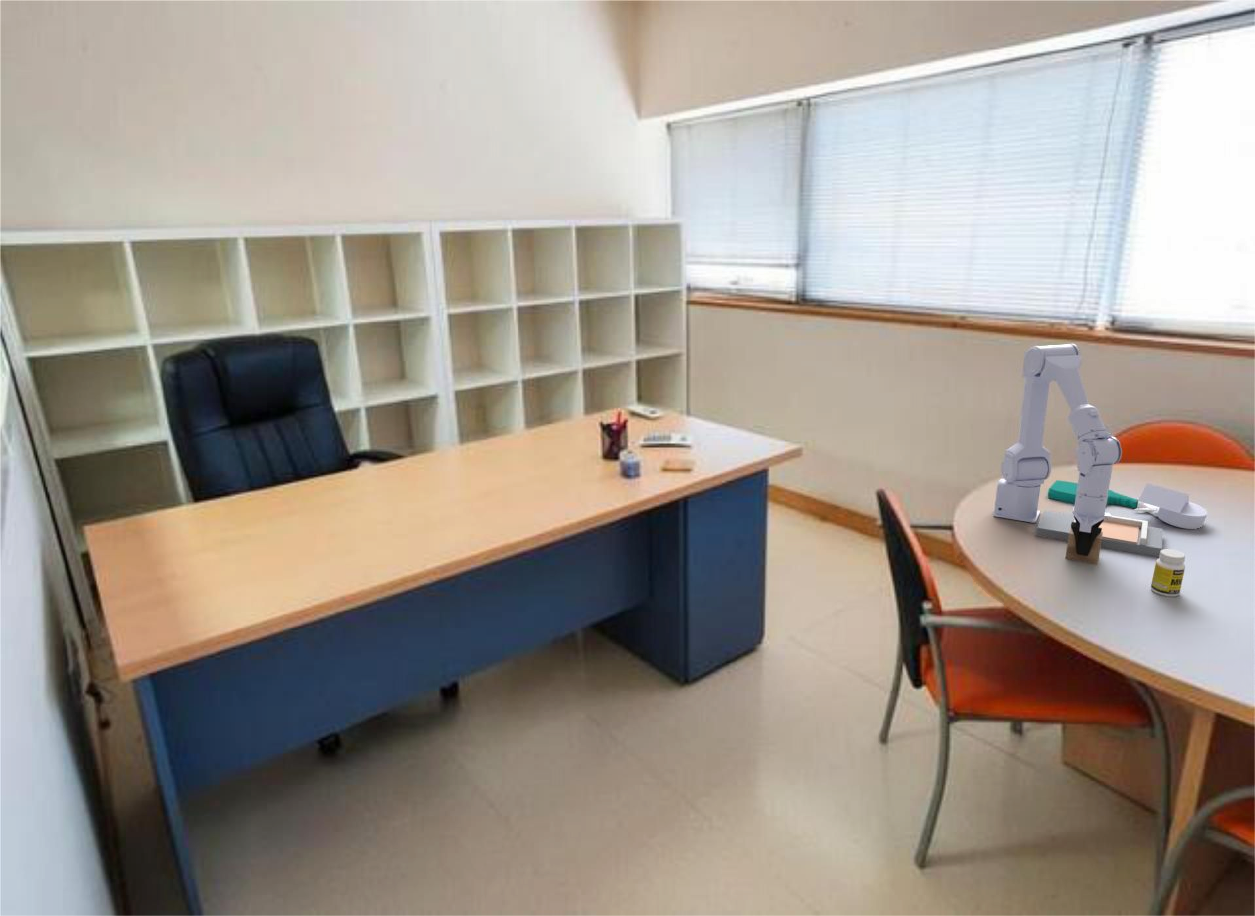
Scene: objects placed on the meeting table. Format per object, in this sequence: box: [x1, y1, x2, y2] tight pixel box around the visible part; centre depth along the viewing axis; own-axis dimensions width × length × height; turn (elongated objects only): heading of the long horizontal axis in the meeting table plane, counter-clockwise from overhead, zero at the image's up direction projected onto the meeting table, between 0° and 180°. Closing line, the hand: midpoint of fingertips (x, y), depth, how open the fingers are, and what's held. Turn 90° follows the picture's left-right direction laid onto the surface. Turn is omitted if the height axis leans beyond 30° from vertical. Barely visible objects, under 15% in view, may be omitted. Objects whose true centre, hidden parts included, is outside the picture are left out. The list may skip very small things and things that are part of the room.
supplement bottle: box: [1150, 548, 1186, 598], centre depth 147 cm, size 5×5×8 cm
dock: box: [1035, 509, 1164, 557], centre depth 172 cm, size 24×12×4 cm, turn 55°
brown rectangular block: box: [1065, 529, 1103, 565], centre depth 162 cm, size 6×4×6 cm, turn 55°
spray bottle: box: [1047, 479, 1160, 517], centre depth 191 cm, size 3×11×25 cm
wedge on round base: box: [1137, 482, 1208, 530], centre depth 178 cm, size 9×7×13 cm
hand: (1083, 550), depth 163 cm, fingers closed on brown rectangular block, 4 cm apart
